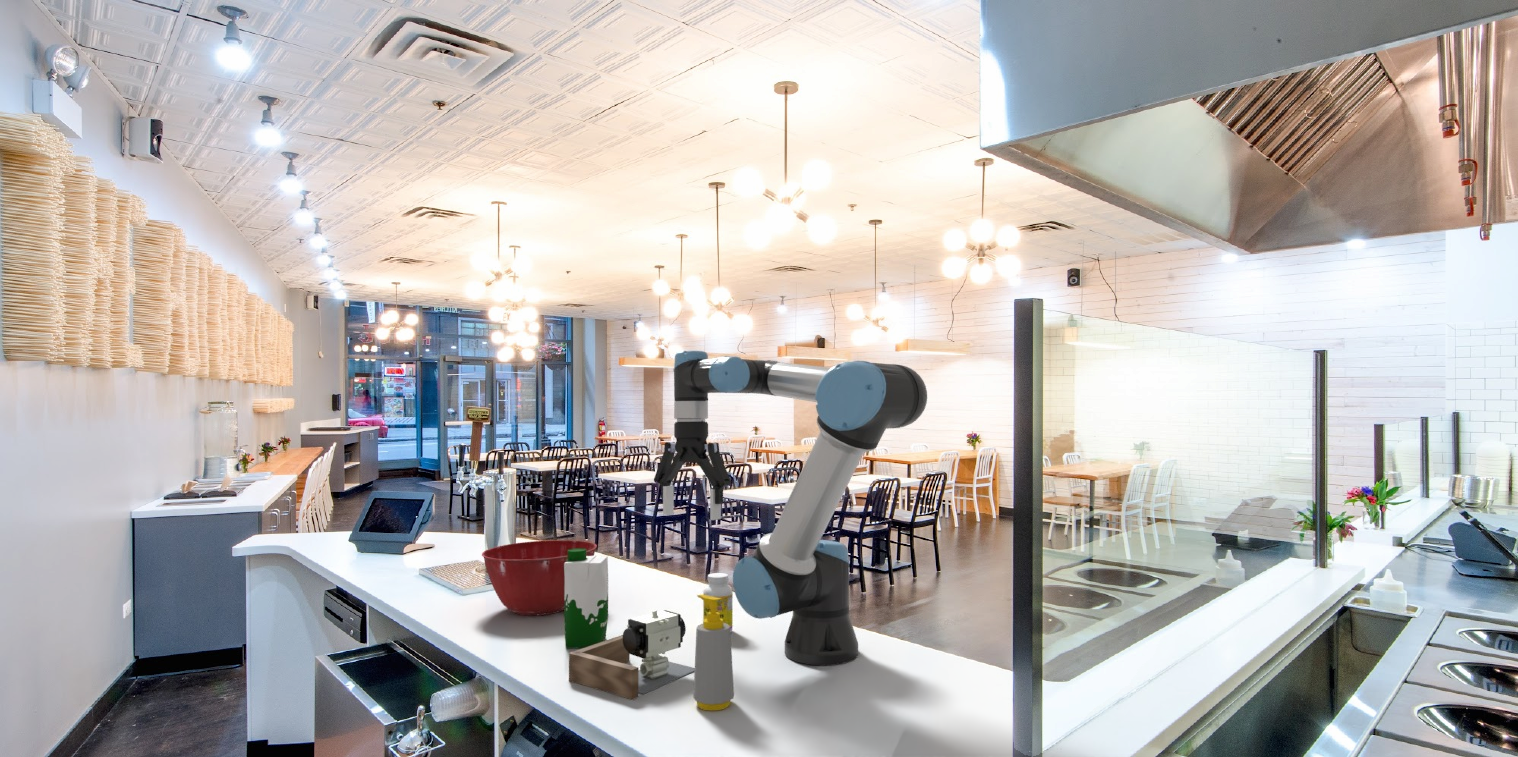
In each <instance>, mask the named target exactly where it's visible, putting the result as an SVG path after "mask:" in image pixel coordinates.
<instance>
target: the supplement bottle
mask: <svg viewBox="0 0 1518 757" xmlns="http://www.w3.org/2000/svg"><path fill="white" fill-rule="evenodd" d="M707 582H708V585H706V586H705V587H704V589H703V591H702V592H703V593H702V595H707V596H712V597H716V598H721V599H720V600H717V608H716V612H718V613H720V618H721V619H723V623H726V624H728V625H729V626H730V633H732V631H733V616H734V615H733V588H732V587H731V585H729V584H728V582H729V574H728V573H724V572H715V573H714V572H713V573H709V574H707ZM702 601H703V602H702V603H703V604H702V605H703V610H702V611H703V612H702V613H703V614H702V616H703V617H702V618H703V620H702V622H703V621H704V619H707V613H709V612H711V609H710V608H709V603H706V602H705V601H704V600H702Z"/></svg>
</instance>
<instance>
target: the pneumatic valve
mask: <svg viewBox="0 0 1518 757" xmlns="http://www.w3.org/2000/svg"><path fill="white" fill-rule="evenodd" d="M681 616H682V615H681V614H680V613H677V612H674V611H670V610H661V611H658V610H656V609H655V610H652V611H651V613H650V614H649V613H648V614H645V615H640V616H637V617H633V618H629V619H627V625H626V627H627V628H625V629H624V631H623V633H622V635H623V638H622V639H623V645H624V647H625V649H626V650H627V651H628V653H629V654H630V655H632V656H635V657H637V658H640V659H641V662H642V663H641V664H640V665H639V666H640V667H639V670H640V672H641V674H642V676H647V677H650V679H652V680H653V679H656V678H659V677H662V676H665V675H667V673H668V671H667V669H668V667H669V662H670V661H669V657H668V656H666V655H665V654H666V652H669V651H673V650H675V649H679V648H681V646H682V645H681V643H683V642H684V641H683V640H684V636H685V634H686V627H687V626H686V623H685V621H684V619H683V618H682V617H681ZM660 654H661V655H660ZM662 655H664V656H662Z"/></svg>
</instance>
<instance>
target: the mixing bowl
mask: <svg viewBox="0 0 1518 757" xmlns="http://www.w3.org/2000/svg"><path fill="white" fill-rule="evenodd" d="M597 546H598V545H597V543H595V542H591V541H585V540H577V539H576V540H573V539H571V540H570V539H556V540H555V539H551V540H549V539H548V540H536V541H532V540H531V541H524V542H517V543H510V544H503V545H498V546H495V547H491V548H488V549H486V550H484V551H483V552H482V553H481V556H482V557H483V559H484V560H483V561H484V564H485V567H486V571H487V575H488V578H489V581H490V584H491V585H492V587H493V590H494V591H495V594H496V595H497V597H498V600H499V601H500V602H501V604H502V605H503V606H504V607H505V608H507V609H508V610H509V611H511V612H513V613H515V614H516V615H519V616H521V615H522V616H544V615H545V616H546V615H549V614H555V613H559V612H562V611H564V604H565V575H564V563H565V562H566V560H567V551H568V550H569V549H575V548H583V549H586V556H595V552H596V549H597Z"/></svg>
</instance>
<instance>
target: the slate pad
mask: <svg viewBox="0 0 1518 757" xmlns="http://www.w3.org/2000/svg"><path fill="white" fill-rule="evenodd" d="M667 671H668V673H667V675H665V676H662V677H659V678H656V679H653V680H652V679H650V677H647V676H642V674H641V672H640V669H639V670H638V694H640V693H641V694H640V695H645V694H647V693H649V692H652V691H654V690H656V689H658V687H659V688H661V687H663V686H665V685H667V684H670V683H672V682H674V681H676V680H678V679H681V678H683V677H685V676H687V674H688V675H689V674H692V673H694V672H695V667H692V666H688V665H686V664H681V663H678V662H672V661H669V667H668V669H667ZM671 681H672V682H671ZM669 682H670V683H669Z"/></svg>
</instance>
